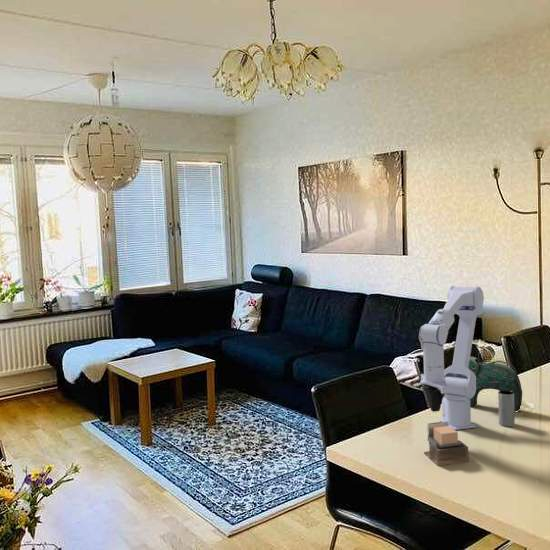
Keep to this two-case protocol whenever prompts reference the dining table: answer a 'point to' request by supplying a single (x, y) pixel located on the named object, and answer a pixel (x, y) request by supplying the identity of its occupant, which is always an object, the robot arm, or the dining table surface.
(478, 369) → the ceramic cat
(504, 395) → the grey cylinder
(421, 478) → the dining table surface
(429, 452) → the dock
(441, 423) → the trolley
